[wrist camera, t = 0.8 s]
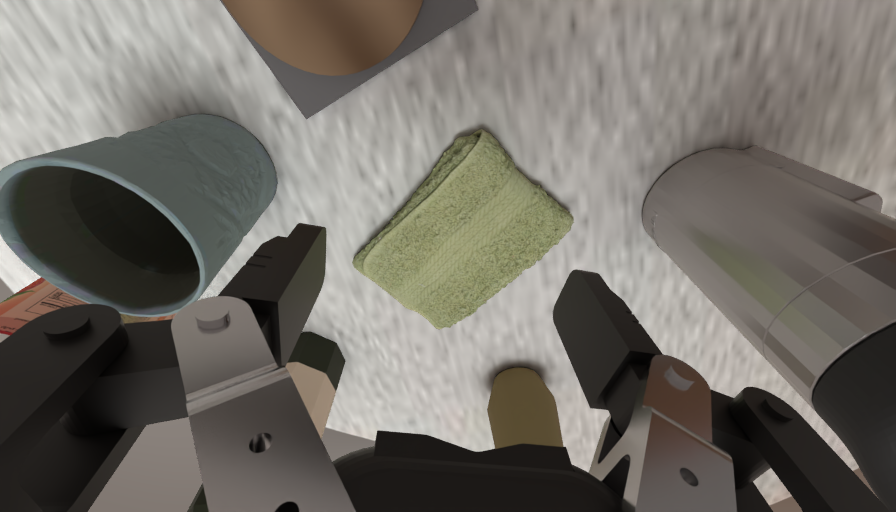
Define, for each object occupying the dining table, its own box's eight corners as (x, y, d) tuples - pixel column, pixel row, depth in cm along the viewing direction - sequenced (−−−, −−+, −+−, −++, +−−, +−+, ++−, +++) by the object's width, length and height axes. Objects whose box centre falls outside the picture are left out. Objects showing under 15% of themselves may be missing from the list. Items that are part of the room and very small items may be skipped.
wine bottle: (347, 337, 39) (174, 879, 14) (343, 381, 44) (204, 851, 19) (272, 325, 38) (-58, 888, 13) (275, 371, 43) (33, 856, 18)
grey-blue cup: (272, 109, 26) (159, 163, 16) (298, 227, 31) (228, 323, 21) (132, 102, 25) (-73, 152, 15) (185, 222, 31) (60, 317, 21)
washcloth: (348, 257, 34) (339, 277, 31) (473, 114, 26) (476, 124, 23) (448, 321, 38) (448, 343, 36) (578, 216, 31) (590, 234, 28)
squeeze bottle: (487, 401, 46) (505, 582, 31) (481, 363, 42) (500, 552, 27) (548, 396, 45) (596, 578, 31) (549, 356, 41) (606, 547, 26)
